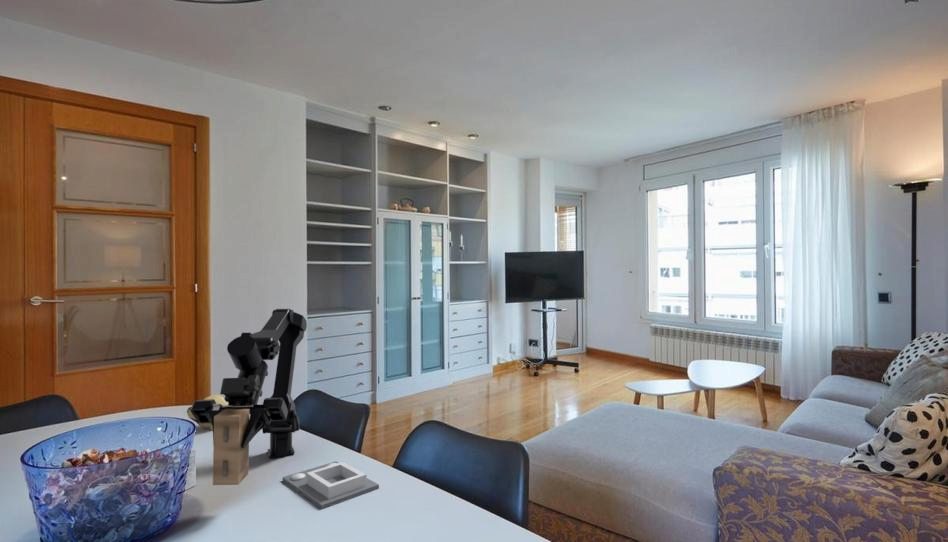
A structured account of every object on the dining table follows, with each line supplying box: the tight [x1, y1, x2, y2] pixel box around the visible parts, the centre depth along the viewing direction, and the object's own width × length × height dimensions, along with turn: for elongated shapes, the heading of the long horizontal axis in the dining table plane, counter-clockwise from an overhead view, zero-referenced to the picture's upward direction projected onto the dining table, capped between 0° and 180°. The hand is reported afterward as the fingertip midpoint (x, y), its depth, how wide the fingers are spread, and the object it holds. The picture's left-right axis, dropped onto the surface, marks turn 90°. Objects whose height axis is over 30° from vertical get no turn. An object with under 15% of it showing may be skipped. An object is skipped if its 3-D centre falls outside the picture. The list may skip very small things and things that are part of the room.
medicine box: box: [184, 448, 197, 492], centre depth 108 cm, size 8×4×9 cm, turn 74°
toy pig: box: [186, 394, 229, 431], centre depth 152 cm, size 10×12×11 cm
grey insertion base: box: [282, 461, 380, 510], centre depth 109 cm, size 20×14×3 cm
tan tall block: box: [212, 409, 250, 486], centre depth 97 cm, size 6×5×14 cm
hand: (228, 447), depth 96 cm, fingers closed on tan tall block, 5 cm apart
